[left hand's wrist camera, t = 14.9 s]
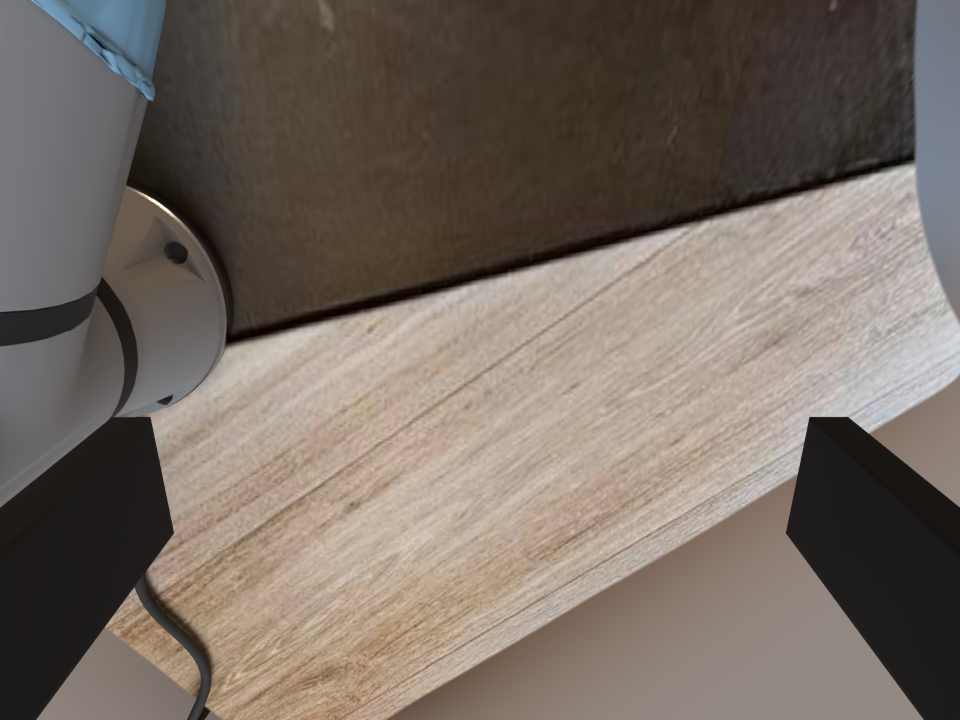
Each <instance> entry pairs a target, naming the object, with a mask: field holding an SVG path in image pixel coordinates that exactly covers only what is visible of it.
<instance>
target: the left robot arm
mask: <svg viewBox="0 0 960 720" xmlns="http://www.w3.org/2000/svg"><path fill="white" fill-rule="evenodd" d="M165 9H166V0H0V720H36V719H37V718H38V717H39V715H40V714H41V712H42V711H43V710H44V708H45V707H46V706H47V704H48V703H49V702H50V700H51V699H52V698H53V696H54V695H55V694H56V692H57V691H58V690H59V688H60V687H61V685H62V684H63V683H64V681H65V680H66V679H67V677H68V676H69V675H70V673H71V672H72V671H73V669H74V668H75V667H76V665H77V664H78V662H79V661H80V660H81V658H82V657H83V656H84V654H85V653H86V652H87V650H88V649H89V648H90V646H91V645H92V643H93V642H94V641H95V639H96V638H97V637H98V635H99V634H100V633H101V631H102V630H103V629H104V627H105V626H106V625H107V623H108V622H109V621H110V619H111V618H112V616H113V615H114V614H115V612H116V611H117V610H118V608H119V607H120V606H121V604H122V603H123V602H124V600H125V599H126V598H127V596H128V595H129V593H130V592H131V591H132V589H133V588H134V587H135V589H136V592H137V594H138V596H139V599H140V601H141V602H142V604H143V605H144V607H145V608H146V610H147V611H148V612H149V614H150V615H151V616H152V617H153V618H154V619H155V620H156V621H157V622H158V623H159V624H160V625H161V626H162V627H163V628H164V629H165V630H166V631H167V632H169V633H170V634H171V635H172V636H173V637H174V638H175V639H176V640H177V641H178V642H179V643H181V644H182V645H183V646H184V647H185V649H186V650H187V651H188V652H189V653H190V654H191V656H192V657H193V658H194V660H195V662H196V664H197V665H198V668H199V671H200V673H201V687H200V691H199V694H198V697H197V700H196V702H195V704H194V706H193V708H192V711H191V713H190V715H189V717H188V719H187V720H205V719H206V717H207V716H208V714H209V713H210V711H211V710H210V709H208V708H207V707H206V706H205V703H206V701H207V698H208V695H209V692H210V687H211V669H210V666H209V663H208V660H207V658H206V656H205V655H204V653H203V651H202V650H201V648H200V647H199V646H198V645H197V643H196V642H195V641H194V640H193V639H192V638H191V637H190V636H189V635H188V634H187V633H186V632H185V631H184V630H183V629H182V628H180V627H179V626H178V625H177V624H176V623H175V622H174V621H173V620H172V619H171V618H170V617H169V616H168V615H166V614H165V612H164V611H163V610H162V609H161V608H160V607H159V606H158V604H157V603H156V602H155V600H154V599H153V597H152V595H151V594H150V592H149V589H148V587H147V584H146V581H145V577H144V573H145V572H146V570H147V569H148V568H149V566H150V565H151V564H152V562H153V561H154V560H155V558H156V557H157V556H158V554H159V553H160V552H161V550H162V549H163V547H164V546H165V545H166V543H167V542H168V541H169V539H170V538H171V537H172V535H173V534H174V531H173V526H172V521H171V516H170V511H169V506H168V501H167V496H166V491H165V486H164V481H163V476H162V472H161V467H160V462H159V457H158V452H157V447H156V442H155V437H154V432H153V427H152V422H151V418H150V417H137V416H141V415H145V414H149V413H152V412H155V411H158V410H161V409H163V408H166V407H168V406H170V405H172V404H174V403H176V402H178V401H180V400H181V399H183V398H184V397H186V396H187V395H189V394H190V393H191V392H192V391H193V390H195V389H196V388H197V387H198V386H199V385H200V384H201V383H202V382H203V381H204V380H205V379H206V378H207V377H208V376H209V375H210V374H211V373H212V372H213V370H214V369H215V368H216V366H217V365H218V363H219V362H220V360H221V358H222V356H223V354H224V352H225V350H226V347H227V345H228V341H229V338H230V334H231V328H232V319H233V306H232V297H231V291H230V287H229V282H228V279H227V276H226V273H225V270H224V268H223V265H222V263H221V261H220V259H219V257H218V255H217V253H216V251H215V250H214V248H213V246H212V245H211V243H210V242H209V240H208V239H207V237H206V236H205V235H204V233H203V232H202V231H201V230H200V228H199V227H198V226H197V225H196V224H195V223H194V222H193V221H192V220H191V219H190V218H189V217H188V216H187V215H186V214H185V213H184V212H183V211H182V210H181V209H179V208H178V207H177V206H175V205H174V204H173V203H172V202H170V201H169V200H167V199H166V198H164V197H163V196H161V195H159V194H158V193H156V192H154V191H152V190H150V189H148V188H146V187H144V186H142V185H140V184H137V183H135V182H132V181H129V180H127V179H128V175H129V171H130V168H131V164H132V160H133V156H134V153H135V149H136V145H137V141H138V138H139V134H140V130H141V126H142V123H143V119H144V115H145V111H146V108H147V104H148V100H151V101H153V100H154V97H155V87H154V85H153V83H152V76H153V70H154V65H155V60H156V55H157V50H158V45H159V40H160V35H161V30H162V25H163V20H164V15H165ZM786 534H787V535H788V537H789V538H790V539H791V541H792V542H793V543H794V545H795V546H796V547H797V549H798V550H799V552H800V553H801V554H802V556H803V557H804V558H805V560H806V561H807V562H808V564H809V565H810V566H811V568H812V569H813V570H814V572H815V573H816V574H817V576H818V577H819V579H820V580H821V581H822V583H823V584H824V585H825V587H826V588H827V589H828V591H829V592H830V593H831V595H832V596H833V598H834V599H835V600H836V602H837V603H838V604H839V606H840V607H841V608H842V610H843V611H844V612H845V614H846V615H847V616H848V618H849V619H850V621H851V622H852V623H853V625H854V626H855V627H856V629H857V630H858V631H859V633H860V634H861V635H862V637H863V638H864V639H865V641H866V642H867V643H868V645H869V646H870V648H871V649H872V650H873V652H874V653H875V654H876V656H877V657H878V658H879V660H880V661H881V662H882V664H883V665H884V667H885V668H886V669H887V671H888V672H889V673H890V675H891V676H892V677H893V679H894V680H895V681H896V683H897V684H898V685H899V687H900V688H901V690H902V691H903V692H904V694H905V695H906V696H907V698H908V699H909V700H910V702H911V703H912V704H913V706H914V707H915V708H916V710H917V711H918V713H919V714H920V715H921V717H922V718H923V719H924V720H960V507H959V506H957V505H956V504H955V503H954V502H952V501H951V500H950V499H949V498H947V497H946V496H945V495H944V494H942V493H941V492H940V491H939V490H937V489H936V488H935V487H934V486H933V485H931V484H930V483H929V482H928V481H926V480H925V479H924V478H923V477H921V476H920V475H919V474H918V473H917V472H915V471H914V470H913V469H912V468H910V467H909V466H908V465H907V464H905V463H904V462H903V461H902V460H900V459H899V458H898V457H897V456H895V455H894V454H893V453H892V452H891V451H889V450H888V449H887V448H886V447H884V446H883V445H882V444H881V443H879V442H878V441H877V440H876V439H875V438H873V437H872V436H871V435H870V434H868V433H867V432H866V431H865V430H863V429H862V428H861V427H860V426H858V425H857V424H856V423H855V422H853V421H852V420H851V419H850V418H849V417H810V418H809V422H808V427H807V432H806V437H805V442H804V447H803V452H802V457H801V462H800V467H799V472H798V476H797V481H796V486H795V491H794V496H793V501H792V506H791V511H790V516H789V521H788V526H787V530H786Z"/></svg>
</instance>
